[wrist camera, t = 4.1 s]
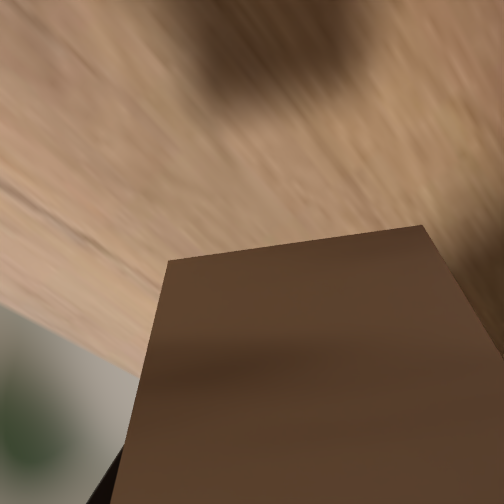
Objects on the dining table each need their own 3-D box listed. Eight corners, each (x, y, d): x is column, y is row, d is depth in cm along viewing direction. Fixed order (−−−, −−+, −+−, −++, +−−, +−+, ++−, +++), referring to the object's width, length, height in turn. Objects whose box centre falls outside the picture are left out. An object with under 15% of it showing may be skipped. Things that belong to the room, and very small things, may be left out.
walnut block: (407, 381, 11) (503, 649, 7) (220, 401, 11) (206, 664, 7) (422, 224, 8) (609, 533, 4) (168, 260, 8) (93, 569, 4)
